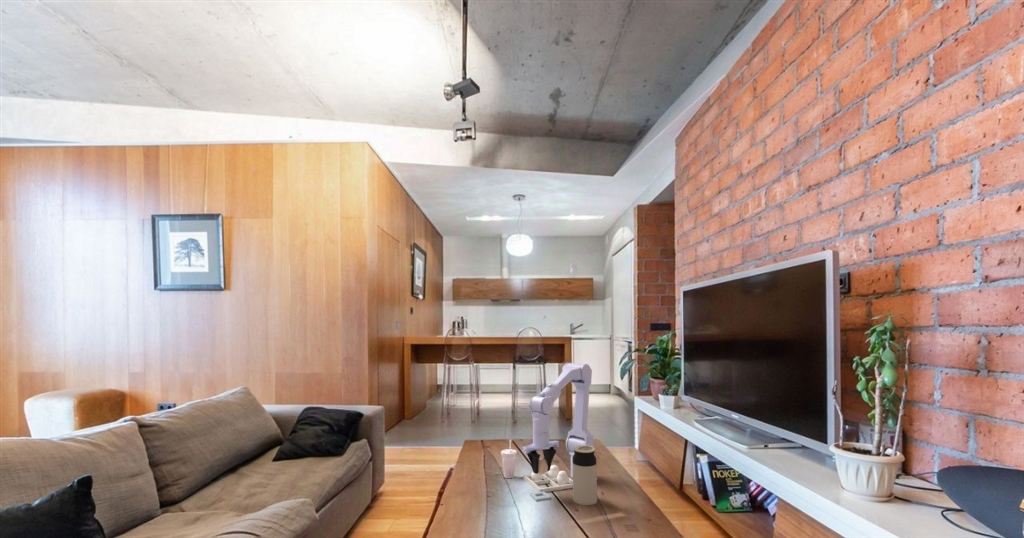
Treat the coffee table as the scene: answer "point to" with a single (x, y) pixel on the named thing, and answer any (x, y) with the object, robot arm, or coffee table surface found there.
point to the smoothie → (509, 462)
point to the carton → (547, 480)
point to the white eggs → (553, 475)
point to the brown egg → (542, 466)
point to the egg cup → (534, 496)
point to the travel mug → (584, 475)
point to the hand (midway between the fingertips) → (541, 471)
